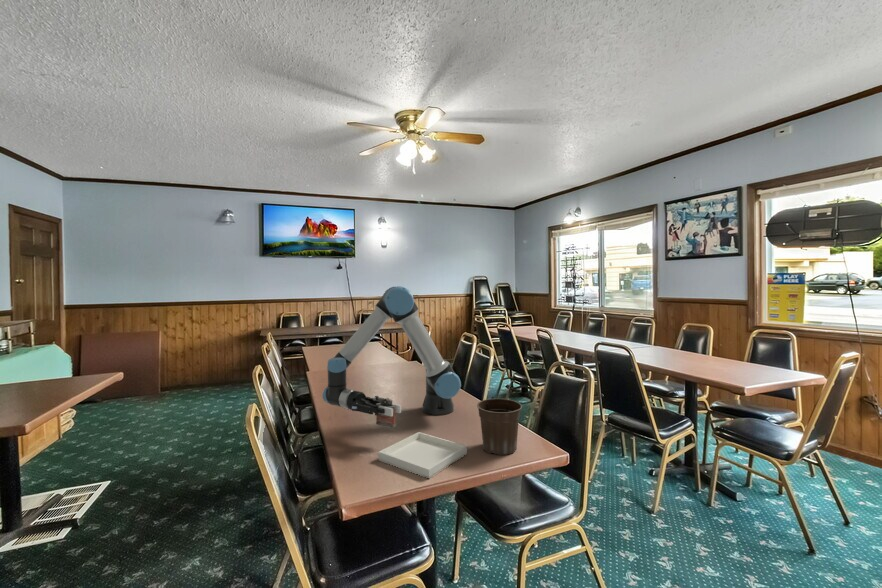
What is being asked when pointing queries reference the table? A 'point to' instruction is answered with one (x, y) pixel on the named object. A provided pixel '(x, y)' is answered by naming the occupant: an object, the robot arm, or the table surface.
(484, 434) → the plant pot
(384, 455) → the tray
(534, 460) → the table surface
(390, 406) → the lighter
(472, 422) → the table surface
